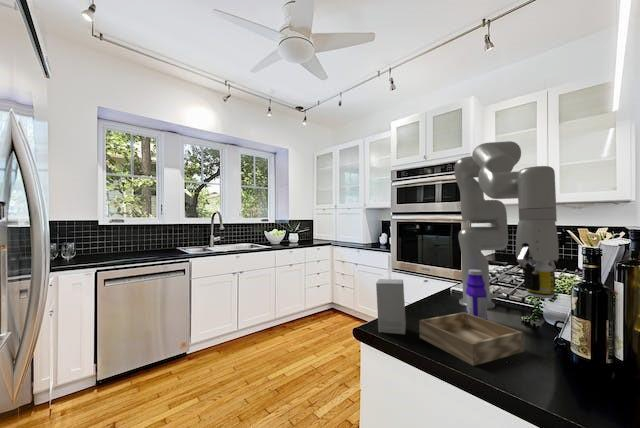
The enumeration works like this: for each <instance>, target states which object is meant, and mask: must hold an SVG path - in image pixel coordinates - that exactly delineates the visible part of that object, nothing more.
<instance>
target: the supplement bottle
mask: <svg viewBox="0 0 640 428" xmlns="http://www.w3.org/2000/svg"><path fill="white" fill-rule="evenodd" d="M529 260H531V261H533V260H532V259H530V258H529ZM548 263H550V260H549V259H548V260H547V261H544V262H539V265H538V271H537V274H539V279H540V290H539V291H534V290H530V289H526V293H527V295H529V296H531V297H534V298H540V299H552V298H554V297H555V288H554V272H553V268H552V267H551V266H549V265H548ZM529 264H530V263H529ZM530 265H531V266H532V267H533V264H530Z"/></svg>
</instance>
